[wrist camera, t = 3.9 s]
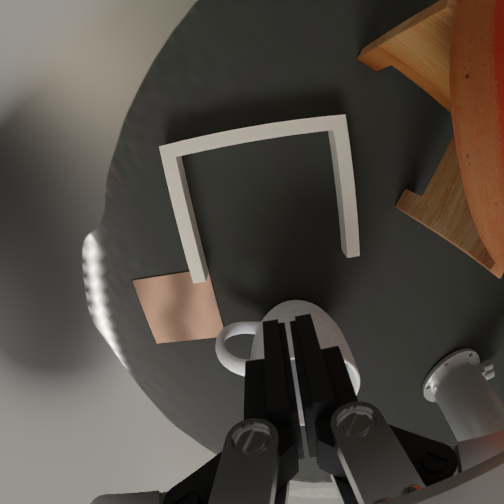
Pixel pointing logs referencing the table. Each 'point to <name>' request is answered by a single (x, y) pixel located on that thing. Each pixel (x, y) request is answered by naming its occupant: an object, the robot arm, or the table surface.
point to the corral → (174, 151)
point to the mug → (285, 313)
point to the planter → (458, 118)
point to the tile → (179, 307)
